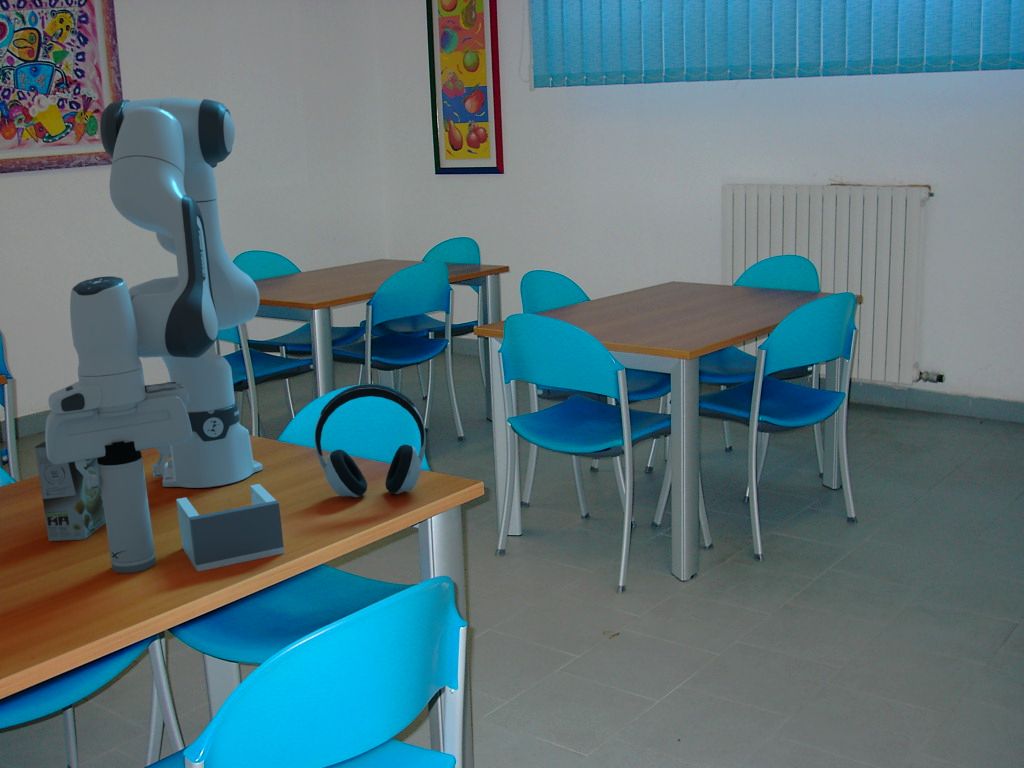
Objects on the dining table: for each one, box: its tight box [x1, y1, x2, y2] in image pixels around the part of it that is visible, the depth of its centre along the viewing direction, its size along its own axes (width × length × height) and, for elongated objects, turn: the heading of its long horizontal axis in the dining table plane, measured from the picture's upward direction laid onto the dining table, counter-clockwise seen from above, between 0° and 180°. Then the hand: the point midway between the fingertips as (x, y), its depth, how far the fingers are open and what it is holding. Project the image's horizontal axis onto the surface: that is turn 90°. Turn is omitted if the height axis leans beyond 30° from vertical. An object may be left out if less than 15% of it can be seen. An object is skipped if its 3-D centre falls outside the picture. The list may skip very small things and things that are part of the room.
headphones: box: [314, 383, 427, 498], centre depth 189 cm, size 19×8×20 cm, turn 95°
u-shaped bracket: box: [176, 483, 285, 573], centre depth 167 cm, size 12×13×8 cm
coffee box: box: [34, 440, 106, 542], centre depth 179 cm, size 9×6×16 cm
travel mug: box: [97, 441, 157, 575], centre depth 161 cm, size 6×7×20 cm
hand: (126, 481), depth 160 cm, fingers open, 8 cm apart
